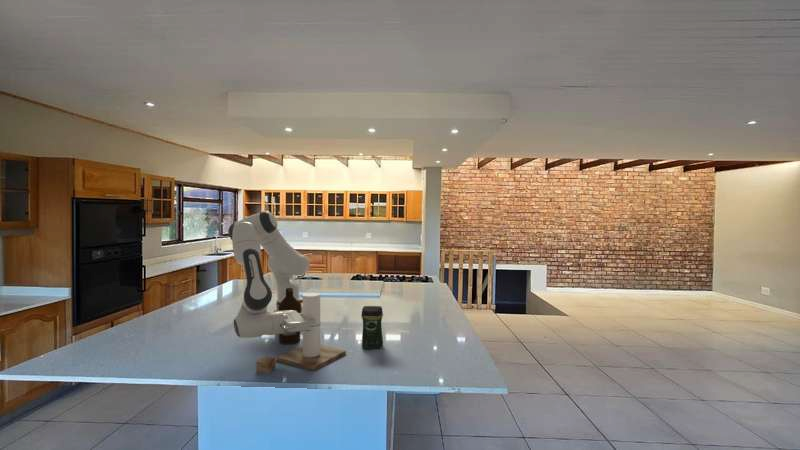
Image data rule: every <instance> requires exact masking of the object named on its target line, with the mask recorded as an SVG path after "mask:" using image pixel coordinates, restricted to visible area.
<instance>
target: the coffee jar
mask: <svg viewBox="0 0 800 450" xmlns="http://www.w3.org/2000/svg"><path fill="white" fill-rule="evenodd" d="M360 317H361V319H362V334H361V347H362V348H363V349H365V350H380V349H381V348H383V346H384V340H383V339H384V337H383V331H382V330H383V327H382V319H383V317H384V313H383V306H381V305H364V306H363V307H362V310H361V316H360Z"/></svg>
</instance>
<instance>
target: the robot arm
mask: <svg viewBox="0 0 800 450" xmlns="http://www.w3.org/2000/svg"><path fill="white" fill-rule="evenodd" d="M227 231H228V235H229V238H230V240H231V243H232V244H231V245H232V252H233V256H234V259H235V262H236V263H237V264H238V265H241V266H243V269H244V273H245V278H246V279H245V280H246V287H245V289H244V292H243V298H242V302H241V305H240V309H239V310H238V313H237V315H236V316H235V317H234V319H233V329H234V332H235V335H236V336H237V337H239V338H241V339H249V338H250V339H251V338H260V337H263V336H264V335H265V336H266V335H267V336H273V335H274V336H275V335H279V334H282V333H284V330H286V331H288V332H298V331H300V332H303V331H305V330H307V326H309V325H312V324H316V320H315V319H311V320H305V319H304V318H303V298H301V299H300V285H299V284H298V282H297V281H296V279H295V278H294V276H301V275H305V274H307V273H308V271H309V268H310V260H309V259H308V257H307V256H305V255H303V254H301V253H300V252H299V251H298V250H296V249H295V248H294V247H293V246H291V244H289V243H288V242H287V240H286V239H285V238H284V236H283V234H282V233H281V232H280V230H279V228H278V221H277V219H276V217H275V214H273V213H272V212H270V211H268V210H264V211H260V212H259V213H255V214H251V215H248V216H247V217H245V218H242V219H240V220H237V221H234V222H232V223H231V224H230V225H229V228H228V230H227ZM262 249H263V250H264V252H265V253H266V254H267V255H268V256H269V257H267V260H266V261H267V262H266V266H267V268H268V270H269V271H270V272H271V273H272V275H273V278H274V280H275V284H276V292H277V293H276V296H277V300H276V309H274V310H273V311H269V312H268V306H269V304H270V303H271V301H272V298H273V293H272V290H271V287H270V286H269V284H267V282H266V280H265V277H264V271H263V268H262V263H261V260H262ZM286 288H293V297H294V298H295V299H296V300H297V301H298V302H299V303H300V305H301V313H298V312H297V311H295V310H284V311H279V310H278V306H279V304H280V303H281V301H282V300H283V299H284V298H285V297H286Z"/></svg>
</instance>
